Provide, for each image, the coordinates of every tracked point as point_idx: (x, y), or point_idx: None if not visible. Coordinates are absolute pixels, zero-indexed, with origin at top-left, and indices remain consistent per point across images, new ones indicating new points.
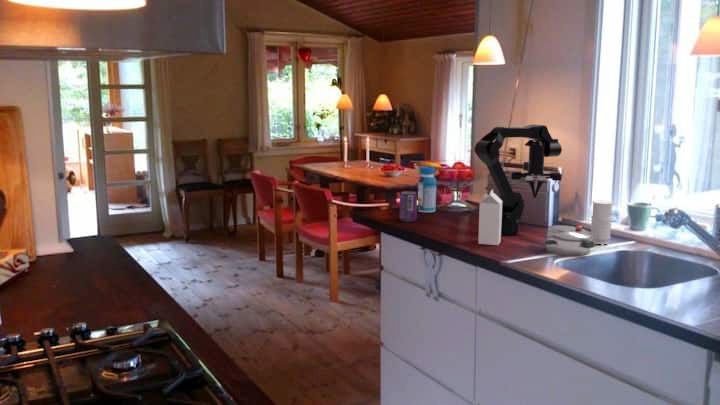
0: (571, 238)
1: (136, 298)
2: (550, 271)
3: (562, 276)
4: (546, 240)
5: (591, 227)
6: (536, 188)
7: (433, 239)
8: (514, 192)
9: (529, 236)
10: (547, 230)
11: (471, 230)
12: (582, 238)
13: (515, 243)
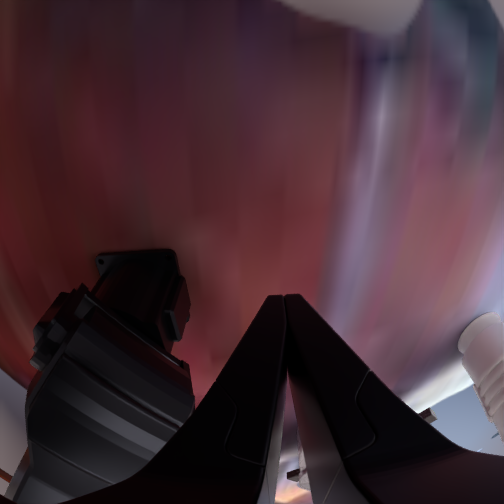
0: None
1: (8, 475)
2: (282, 493)
3: (296, 498)
4: (290, 477)
5: (476, 384)
6: (310, 474)
7: (5, 371)
8: (88, 472)
9: (248, 310)
10: (299, 481)
11: (8, 254)
12: None
13: None
